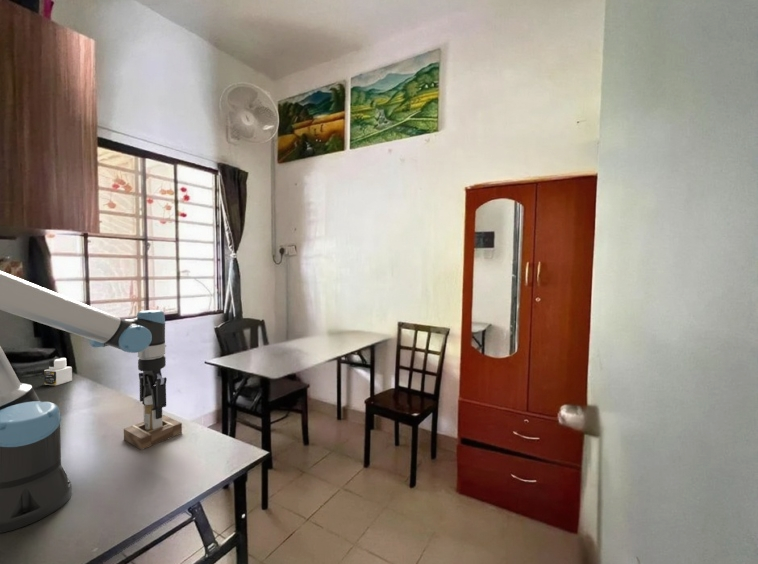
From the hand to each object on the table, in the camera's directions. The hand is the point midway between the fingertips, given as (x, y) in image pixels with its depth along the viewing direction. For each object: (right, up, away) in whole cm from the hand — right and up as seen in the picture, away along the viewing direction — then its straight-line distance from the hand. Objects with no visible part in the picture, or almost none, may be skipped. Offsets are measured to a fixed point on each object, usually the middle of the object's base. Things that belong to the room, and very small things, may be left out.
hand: (153, 425), depth 108 cm
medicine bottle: (-82, -2, +50) cm, 96 cm away
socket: (0, -4, 0) cm, 4 cm away
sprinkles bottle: (0, -4, 0) cm, 4 cm away
